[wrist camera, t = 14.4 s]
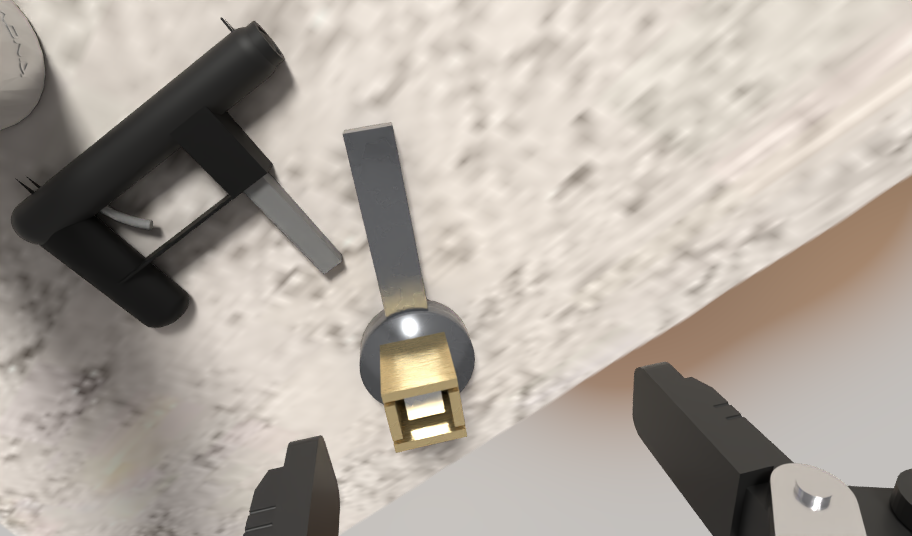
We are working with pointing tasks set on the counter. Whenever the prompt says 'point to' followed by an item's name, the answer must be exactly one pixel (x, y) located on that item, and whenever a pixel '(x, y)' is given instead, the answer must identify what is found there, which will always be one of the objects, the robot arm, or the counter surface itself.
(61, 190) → the door handle
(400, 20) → the counter surface
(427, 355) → the brass cube frame
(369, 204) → the ratchet
